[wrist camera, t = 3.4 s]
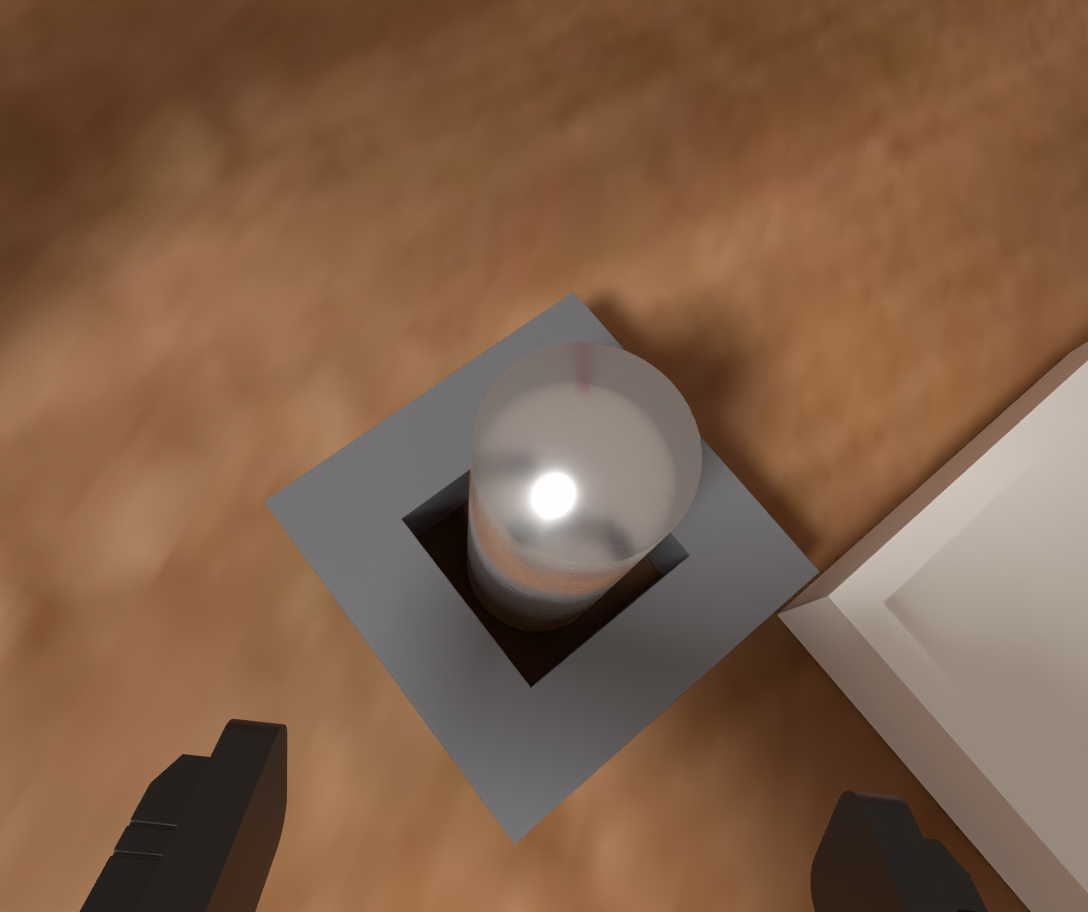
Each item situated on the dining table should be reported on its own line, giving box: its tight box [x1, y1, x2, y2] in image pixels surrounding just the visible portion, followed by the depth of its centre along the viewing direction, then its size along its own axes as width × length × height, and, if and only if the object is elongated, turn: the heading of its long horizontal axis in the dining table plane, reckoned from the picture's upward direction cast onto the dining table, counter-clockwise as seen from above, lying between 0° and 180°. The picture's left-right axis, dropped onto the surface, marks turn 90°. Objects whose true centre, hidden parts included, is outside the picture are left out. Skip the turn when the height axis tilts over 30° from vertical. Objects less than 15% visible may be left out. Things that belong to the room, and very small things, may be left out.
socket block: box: [264, 292, 819, 844], centre depth 22 cm, size 10×10×3 cm
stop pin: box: [467, 342, 702, 631], centre depth 19 cm, size 4×4×10 cm
